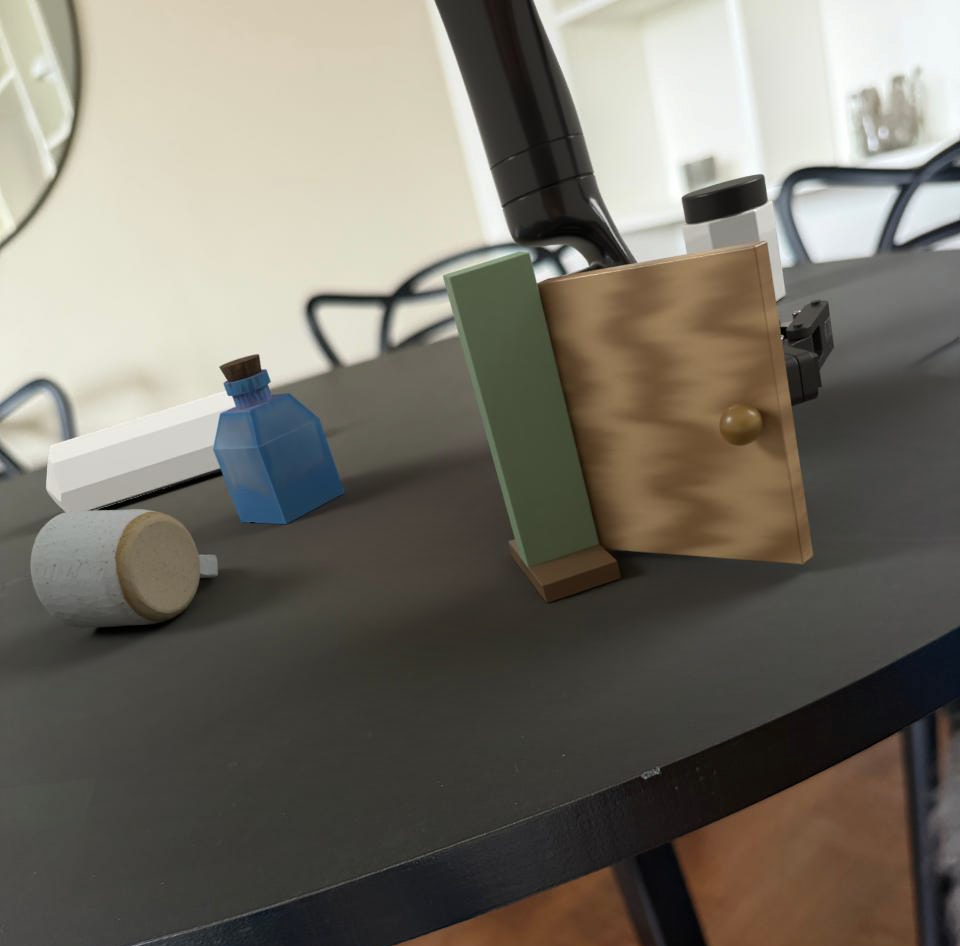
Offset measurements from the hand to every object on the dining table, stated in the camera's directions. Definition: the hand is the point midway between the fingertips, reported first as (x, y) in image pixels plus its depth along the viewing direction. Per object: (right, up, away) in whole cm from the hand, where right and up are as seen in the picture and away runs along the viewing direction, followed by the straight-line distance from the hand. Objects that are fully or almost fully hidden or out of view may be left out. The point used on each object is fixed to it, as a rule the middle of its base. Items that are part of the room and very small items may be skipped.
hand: (801, 380), depth 46 cm
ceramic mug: (-36, -10, +23) cm, 44 cm away
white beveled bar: (-45, +4, +59) cm, 75 cm away
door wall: (-10, -8, +10) cm, 16 cm away
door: (-4, -8, +5) cm, 10 cm away
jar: (+13, +23, +60) cm, 66 cm away
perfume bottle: (-29, -1, +37) cm, 47 cm away
